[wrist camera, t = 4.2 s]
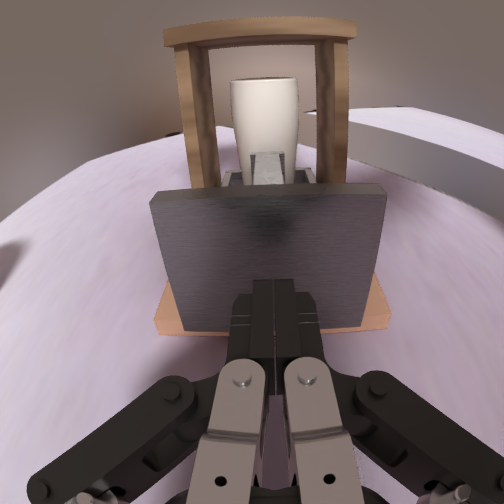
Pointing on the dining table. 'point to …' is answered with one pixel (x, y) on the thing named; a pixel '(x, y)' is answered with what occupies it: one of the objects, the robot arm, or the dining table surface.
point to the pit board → (372, 320)
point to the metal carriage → (269, 242)
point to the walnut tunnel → (253, 34)
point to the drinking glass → (265, 120)
